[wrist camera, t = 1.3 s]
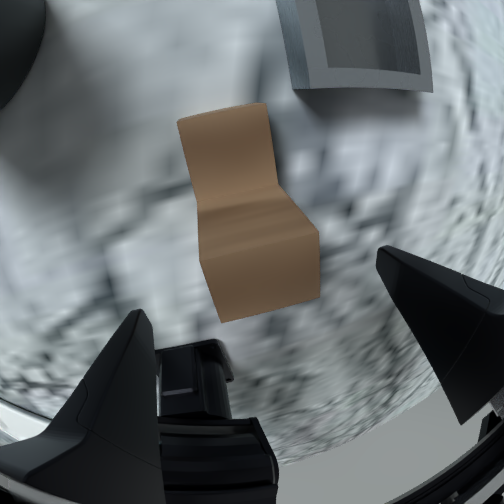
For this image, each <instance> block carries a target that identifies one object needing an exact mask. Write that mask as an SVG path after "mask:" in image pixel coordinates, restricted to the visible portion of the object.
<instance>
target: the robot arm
mask: <svg viewBox="0 0 504 504" xmlns="http://www.w3.org/2000/svg"><path fill="white" fill-rule="evenodd" d="M376 269H377V271H378V273H379V275H380V277H381V279H382V281H383V283H384V285H385V287H386V289H387V291H388V293H389V295H390V296H391V298H392V300H393V302H394V303H395V305H396V307H397V308H398V310H399V311H400V313H401V315H402V316H403V318H404V319H405V321H406V323H407V324H408V326H409V328H410V329H411V331H412V333H413V334H414V336H415V338H416V340H417V341H418V343H419V345H420V346H421V348H422V350H423V352H424V354H425V355H426V357H427V359H428V361H429V363H430V364H431V366H432V368H433V370H434V372H435V374H436V376H437V378H438V380H439V381H440V383H441V386H442V388H443V390H444V392H445V394H446V396H447V398H448V400H449V402H450V404H451V406H452V408H453V410H454V412H455V415H456V417H457V419H458V421H459V423H460V425H462V424H464V423H465V422H466V421H467V420H469V419H470V418H471V417H473V416H474V415H475V414H476V413H477V412H479V411H480V410H481V409H482V408H483V407H484V406H485V405H486V404H488V403H489V404H490V405H491V407H492V409H493V410H492V411H491V412H490V413H489V414H488V415H487V416H485V417H484V418H483V419H482V424H481V429H480V434H479V439H478V443H477V444H476V445H475V446H474V447H472V448H471V449H470V450H469V451H467V452H466V453H465V454H464V455H462V456H461V457H460V458H458V459H457V460H456V461H454V462H453V463H452V464H450V465H449V466H447V467H446V468H445V469H443V470H442V471H440V472H439V473H437V474H436V475H434V476H433V477H431V478H430V479H428V480H427V481H425V482H423V483H422V484H420V485H418V486H417V487H415V488H413V489H411V490H410V491H408V492H406V493H404V494H402V495H401V496H399V497H397V498H395V499H393V500H391V501H389V502H387V503H385V504H439V503H441V504H504V497H503V496H502V493H503V492H504V290H503V289H500V288H497V287H494V286H492V285H489V284H486V283H483V282H481V281H478V280H476V279H473V278H471V277H468V276H466V275H464V274H462V275H461V273H459V272H456V271H454V270H451V269H449V268H446V267H444V266H441V265H439V264H436V263H434V262H431V261H429V260H426V259H424V258H421V257H418V256H416V255H413V254H411V253H408V252H405V251H403V250H400V249H397V248H394V247H392V246H389V245H386V246H382V247H380V248H379V249H378V251H377V259H376ZM156 375H157V376H158V377H159V416H157V393H156ZM83 378H84V379H82V380H81V381H80V383H79V384H78V386H77V387H76V389H75V390H74V392H73V393H72V394H71V396H70V397H69V399H68V400H67V401H66V403H65V404H64V405H63V407H62V408H61V409H60V410H59V412H58V413H57V414H56V416H55V417H54V418H53V420H52V421H51V422H50V424H49V425H48V426H47V427H46V429H45V430H44V431H43V432H41V433H40V434H38V435H36V436H34V437H31V438H28V439H25V440H21V441H18V442H15V443H11V444H8V445H4V446H0V474H1V475H3V476H5V477H7V478H9V489H7V488H5V487H3V486H0V504H276V495H277V490H278V479H279V468H278V463H277V459H276V457H275V454H274V452H273V450H272V448H271V446H270V444H269V442H268V440H267V438H266V436H265V434H264V432H263V430H262V428H261V425H260V423H259V421H258V419H257V417H250V418H249V419H232V415H231V409H230V404H229V398H228V392H227V386H226V383H228V382H232V381H233V380H234V377H233V374H232V371H231V369H230V367H229V365H228V363H227V360H226V358H225V356H224V353H223V351H222V349H221V346H220V344H219V342H218V341H217V340H215V339H210V340H206V341H201V342H196V343H191V344H186V345H181V346H176V347H171V348H165V349H160V350H155V349H154V338H153V328H152V325H151V323H150V321H149V319H148V318H147V316H146V314H145V312H144V311H143V310H142V309H136V310H132V311H131V312H130V313H129V314H128V316H127V317H126V318H125V320H124V321H123V322H122V324H121V325H120V326H119V328H118V329H117V330H116V332H115V333H114V334H113V336H112V337H111V338H110V340H109V341H108V343H107V344H106V345H105V347H104V348H103V350H102V351H101V352H100V354H99V355H98V357H97V358H96V360H95V361H94V362H93V364H92V365H91V367H90V368H89V370H88V371H87V373H86V374H85V375H84V377H83Z"/></svg>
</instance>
